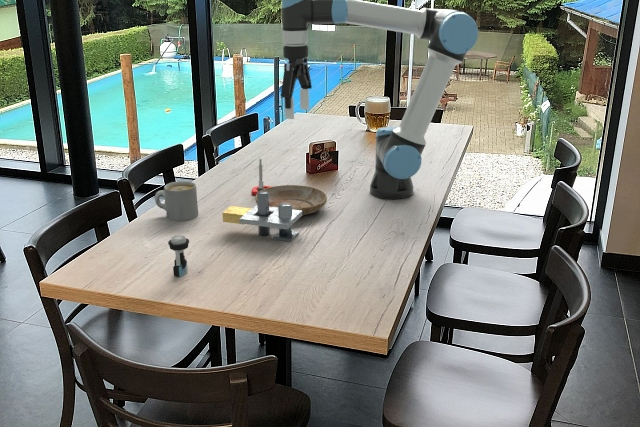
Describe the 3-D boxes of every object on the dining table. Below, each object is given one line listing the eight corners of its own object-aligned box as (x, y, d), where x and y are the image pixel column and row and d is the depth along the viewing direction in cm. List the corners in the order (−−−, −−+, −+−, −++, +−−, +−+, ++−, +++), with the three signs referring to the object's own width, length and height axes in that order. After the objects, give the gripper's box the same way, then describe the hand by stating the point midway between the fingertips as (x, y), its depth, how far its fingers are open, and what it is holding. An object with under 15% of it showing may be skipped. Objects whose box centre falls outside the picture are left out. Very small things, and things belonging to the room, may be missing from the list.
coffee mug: (203, 211, 224) (201, 182, 221) (189, 222, 216) (186, 192, 212) (167, 207, 228) (164, 179, 225) (151, 218, 219) (148, 188, 216)
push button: (177, 265, 186) (174, 231, 182) (196, 267, 185) (193, 232, 181) (168, 276, 179) (164, 241, 176) (187, 278, 179) (184, 242, 175)
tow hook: (255, 188, 248) (248, 195, 239) (254, 153, 244) (247, 159, 235) (278, 189, 247) (272, 196, 238) (277, 154, 243) (271, 160, 234)
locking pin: (271, 232, 207) (270, 191, 203) (267, 236, 204) (265, 195, 200) (261, 231, 208) (259, 190, 204) (256, 235, 205) (255, 194, 201)
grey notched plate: (302, 230, 208) (301, 199, 205) (287, 245, 198) (286, 213, 194) (236, 222, 215) (235, 192, 212) (219, 236, 205) (217, 204, 201)
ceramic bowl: (273, 228, 211) (273, 212, 209) (244, 205, 230) (244, 191, 229) (339, 215, 221) (339, 200, 219) (306, 194, 240) (306, 180, 239)
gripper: (298, 39, 220) (300, 105, 227) (267, 49, 198) (270, 122, 205) (320, 39, 218) (321, 106, 225) (292, 50, 196) (294, 123, 203)
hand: (297, 114), depth 215 cm, fingers open, 13 cm apart
